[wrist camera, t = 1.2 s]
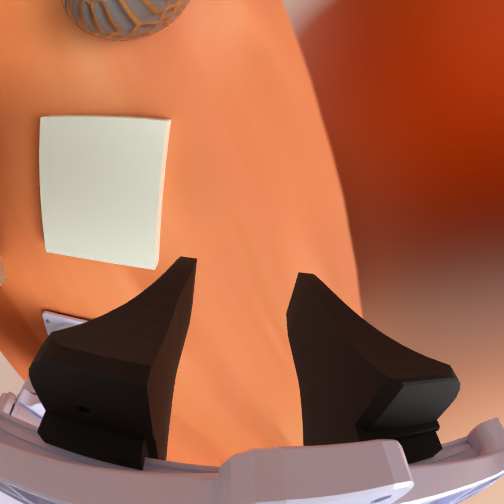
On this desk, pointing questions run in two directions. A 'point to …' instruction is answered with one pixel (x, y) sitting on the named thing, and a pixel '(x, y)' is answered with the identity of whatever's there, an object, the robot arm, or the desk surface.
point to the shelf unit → (2, 273)
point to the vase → (123, 16)
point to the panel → (103, 186)
